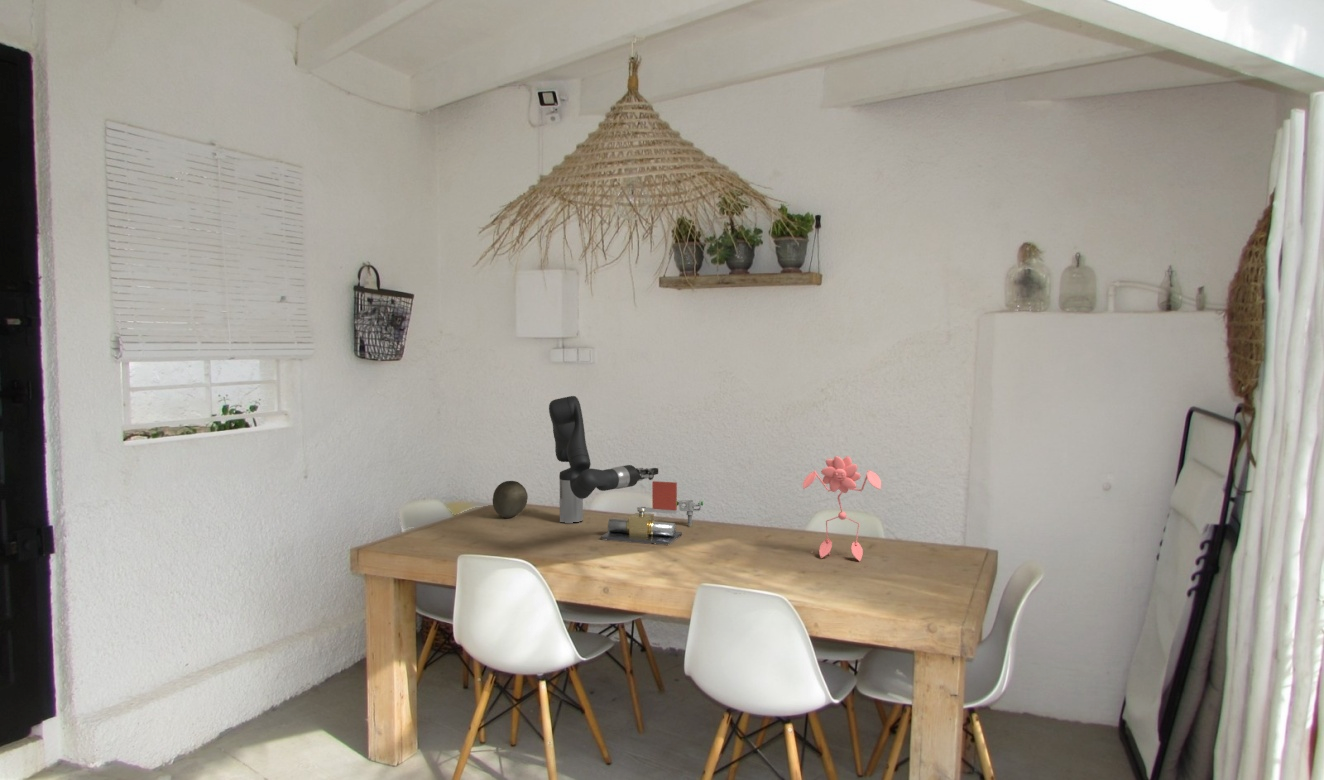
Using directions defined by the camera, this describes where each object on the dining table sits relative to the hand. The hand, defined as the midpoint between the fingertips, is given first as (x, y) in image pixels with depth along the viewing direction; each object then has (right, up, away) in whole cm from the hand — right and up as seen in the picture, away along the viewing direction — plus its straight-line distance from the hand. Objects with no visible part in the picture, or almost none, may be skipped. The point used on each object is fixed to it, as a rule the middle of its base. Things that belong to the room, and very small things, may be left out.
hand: (656, 470), depth 298 cm
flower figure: (+60, -27, -26) cm, 71 cm away
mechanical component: (+13, -24, +26) cm, 37 cm away
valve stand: (-6, -25, +8) cm, 27 cm away
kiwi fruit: (-60, -23, +42) cm, 77 cm away
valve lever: (0, -15, +5) cm, 16 cm away
